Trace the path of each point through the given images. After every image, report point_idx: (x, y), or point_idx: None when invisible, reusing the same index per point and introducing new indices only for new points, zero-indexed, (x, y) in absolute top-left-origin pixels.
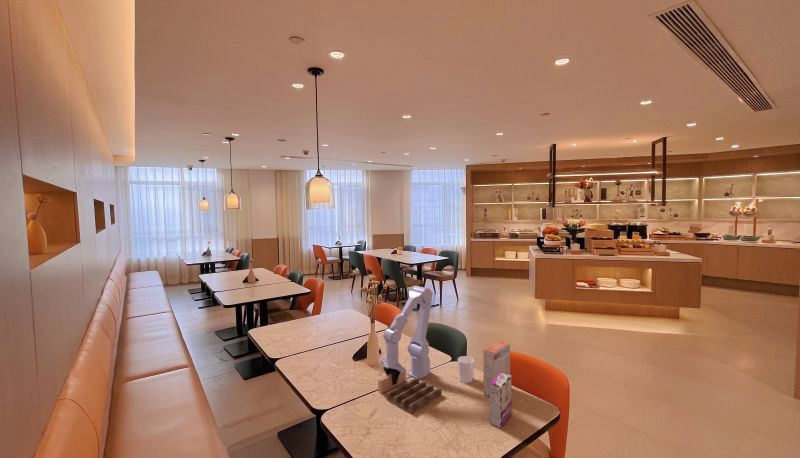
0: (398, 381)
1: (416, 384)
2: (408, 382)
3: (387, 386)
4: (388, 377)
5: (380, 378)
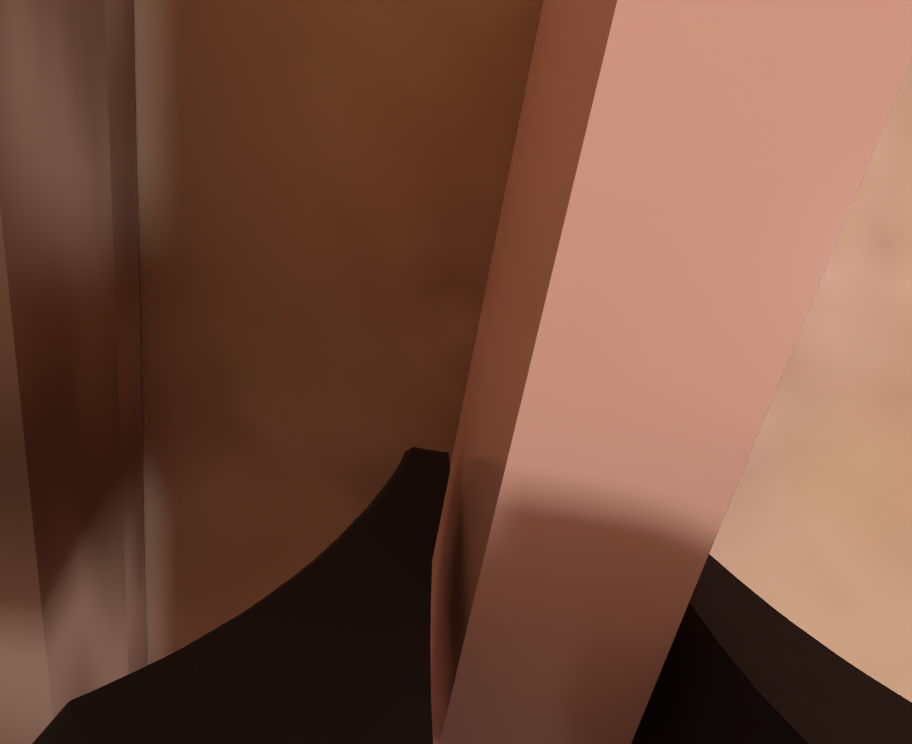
0: None
1: None
2: (23, 666)
3: (502, 266)
4: (511, 448)
5: (886, 73)
